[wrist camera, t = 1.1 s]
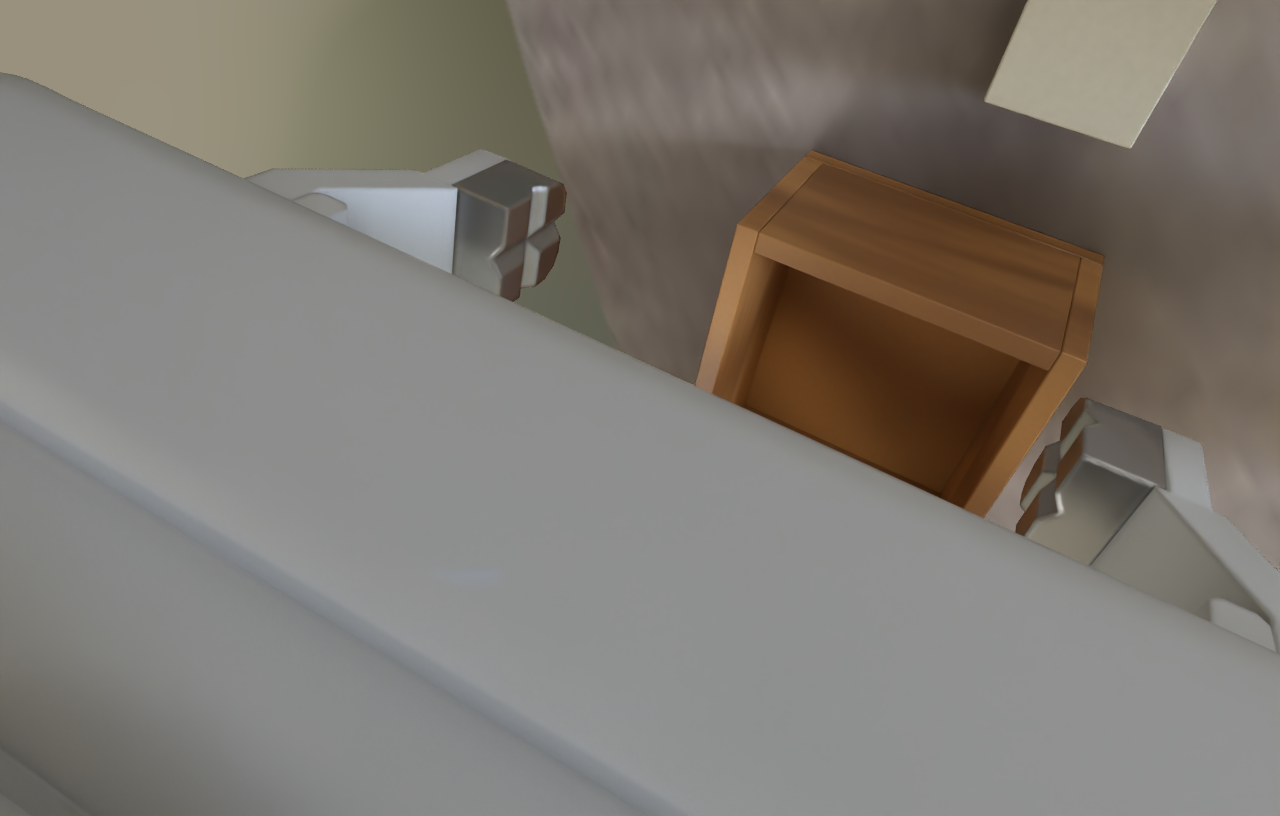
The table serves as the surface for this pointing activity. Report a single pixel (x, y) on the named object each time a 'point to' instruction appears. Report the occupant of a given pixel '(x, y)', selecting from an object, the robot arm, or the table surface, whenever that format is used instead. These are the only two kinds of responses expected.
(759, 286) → the chest
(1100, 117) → the block
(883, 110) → the table surface
